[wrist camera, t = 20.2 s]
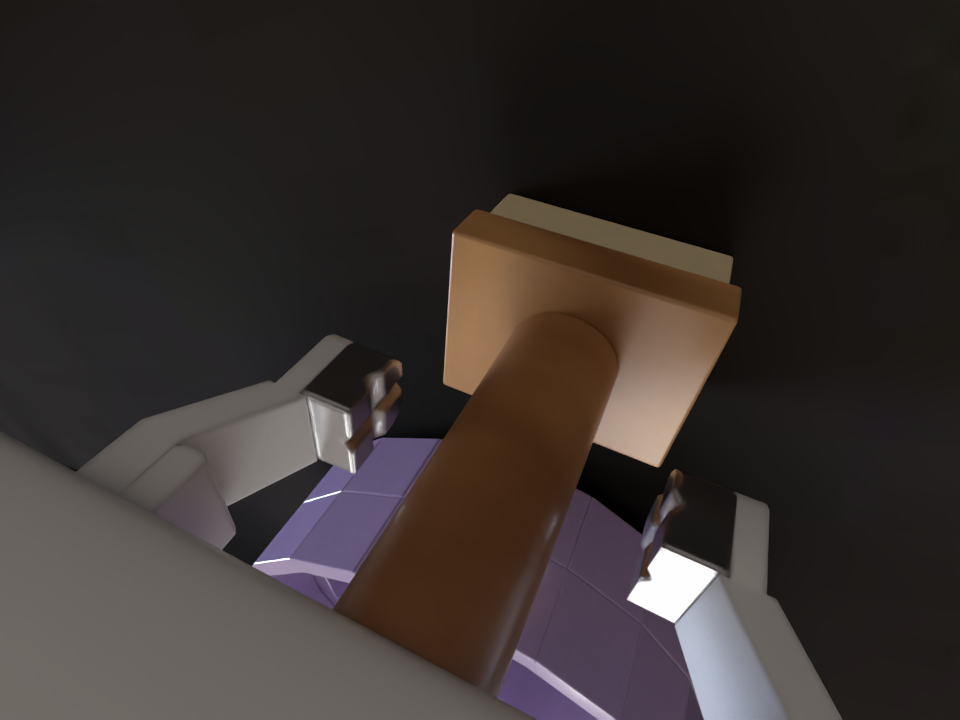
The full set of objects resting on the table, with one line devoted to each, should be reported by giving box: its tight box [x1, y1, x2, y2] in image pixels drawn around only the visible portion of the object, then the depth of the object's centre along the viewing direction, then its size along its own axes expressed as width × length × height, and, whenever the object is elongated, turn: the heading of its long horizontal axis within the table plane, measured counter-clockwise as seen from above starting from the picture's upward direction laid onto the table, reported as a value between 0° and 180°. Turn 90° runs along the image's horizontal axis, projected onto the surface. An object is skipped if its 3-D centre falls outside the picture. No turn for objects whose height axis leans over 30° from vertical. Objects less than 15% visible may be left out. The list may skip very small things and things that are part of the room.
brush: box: [332, 194, 742, 698], centre depth 10 cm, size 6×4×10 cm
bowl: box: [252, 438, 704, 720], centre depth 22 cm, size 17×17×6 cm
